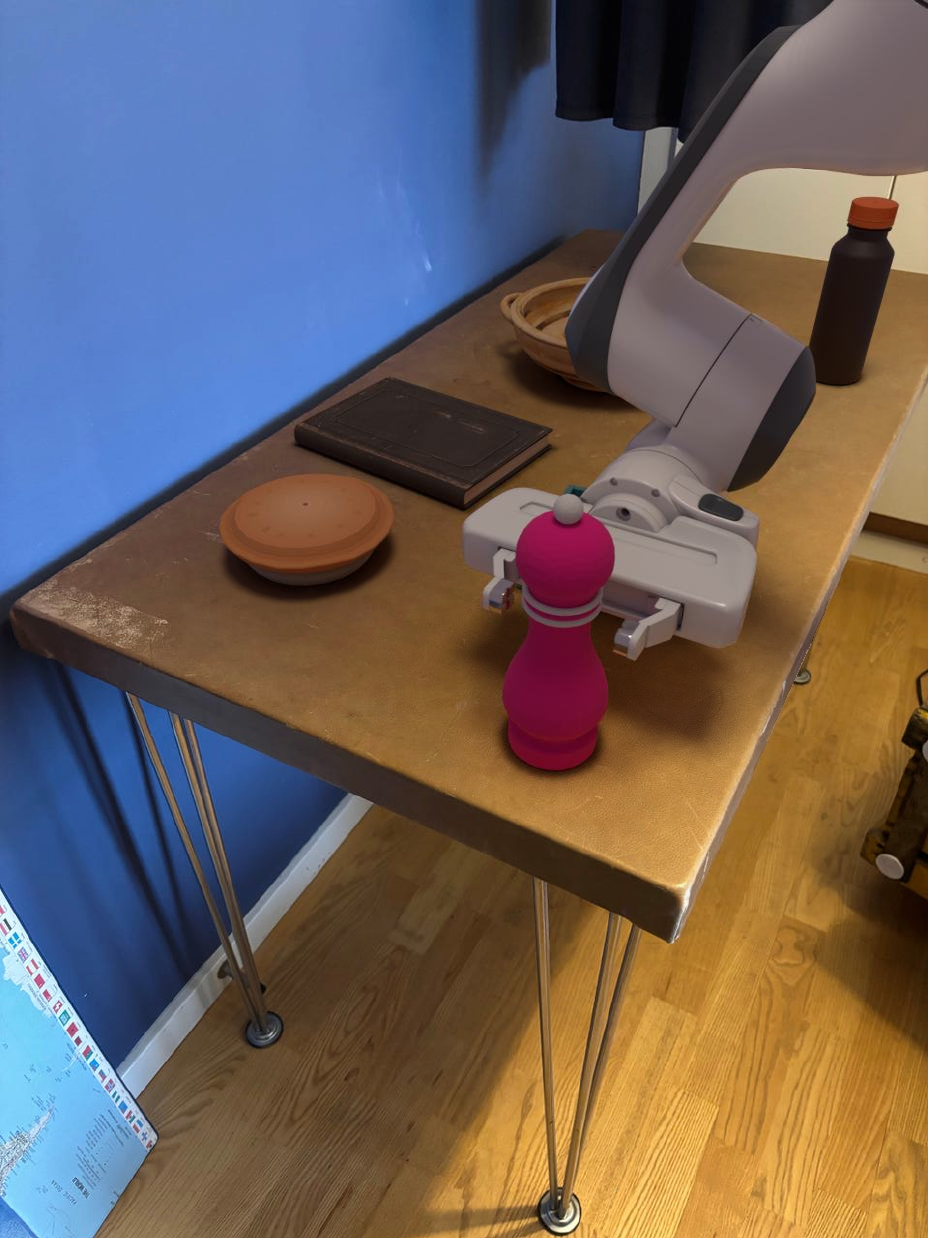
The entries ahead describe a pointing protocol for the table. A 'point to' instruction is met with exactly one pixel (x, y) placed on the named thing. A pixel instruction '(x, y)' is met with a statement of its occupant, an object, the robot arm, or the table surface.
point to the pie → (307, 527)
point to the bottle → (853, 291)
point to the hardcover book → (425, 439)
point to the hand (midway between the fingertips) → (555, 625)
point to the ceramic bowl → (546, 325)
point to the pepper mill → (559, 638)
